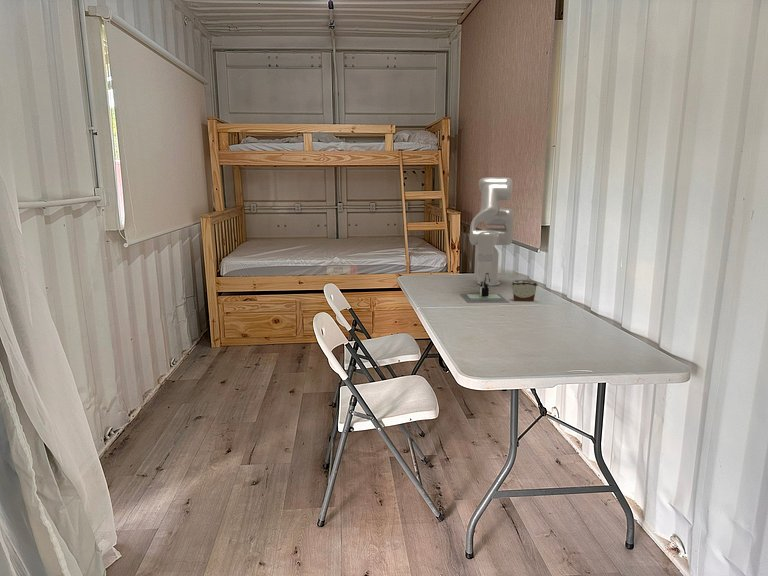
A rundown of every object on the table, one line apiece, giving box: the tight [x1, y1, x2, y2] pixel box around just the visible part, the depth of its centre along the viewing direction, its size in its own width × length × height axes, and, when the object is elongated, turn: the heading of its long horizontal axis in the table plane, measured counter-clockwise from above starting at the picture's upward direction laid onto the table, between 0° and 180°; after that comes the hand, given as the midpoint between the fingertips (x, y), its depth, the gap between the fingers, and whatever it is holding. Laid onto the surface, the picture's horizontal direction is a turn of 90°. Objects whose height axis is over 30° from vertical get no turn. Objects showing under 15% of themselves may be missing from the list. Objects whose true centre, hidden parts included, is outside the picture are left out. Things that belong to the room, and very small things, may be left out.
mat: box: [459, 293, 511, 304], centre depth 258 cm, size 20×20×1 cm
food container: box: [510, 279, 539, 302], centre depth 254 cm, size 12×6×10 cm, turn 84°
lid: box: [466, 286, 501, 300], centre depth 257 cm, size 9×15×6 cm, turn 93°
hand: (483, 294), depth 258 cm, fingers closed on lid, 4 cm apart
